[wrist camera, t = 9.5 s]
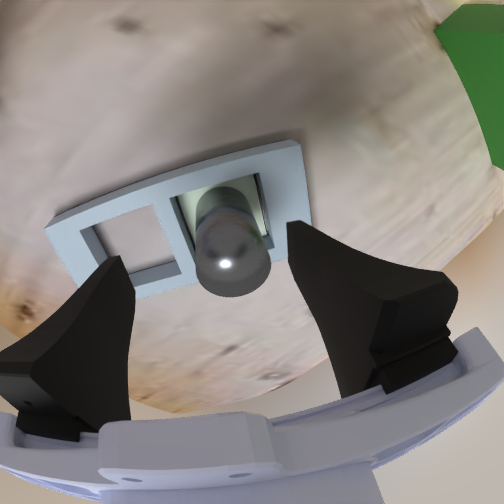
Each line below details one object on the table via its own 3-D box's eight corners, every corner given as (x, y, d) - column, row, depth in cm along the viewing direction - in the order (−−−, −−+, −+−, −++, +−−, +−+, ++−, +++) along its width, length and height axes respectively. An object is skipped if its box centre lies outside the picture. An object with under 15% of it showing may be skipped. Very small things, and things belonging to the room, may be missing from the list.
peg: (201, 239, 22) (204, 302, 16) (190, 191, 19) (187, 243, 14) (252, 230, 22) (272, 289, 16) (246, 182, 20) (268, 229, 14)
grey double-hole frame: (99, 294, 23) (94, 309, 21) (53, 217, 18) (43, 229, 16) (305, 237, 23) (314, 250, 22) (291, 139, 19) (300, 144, 17)
